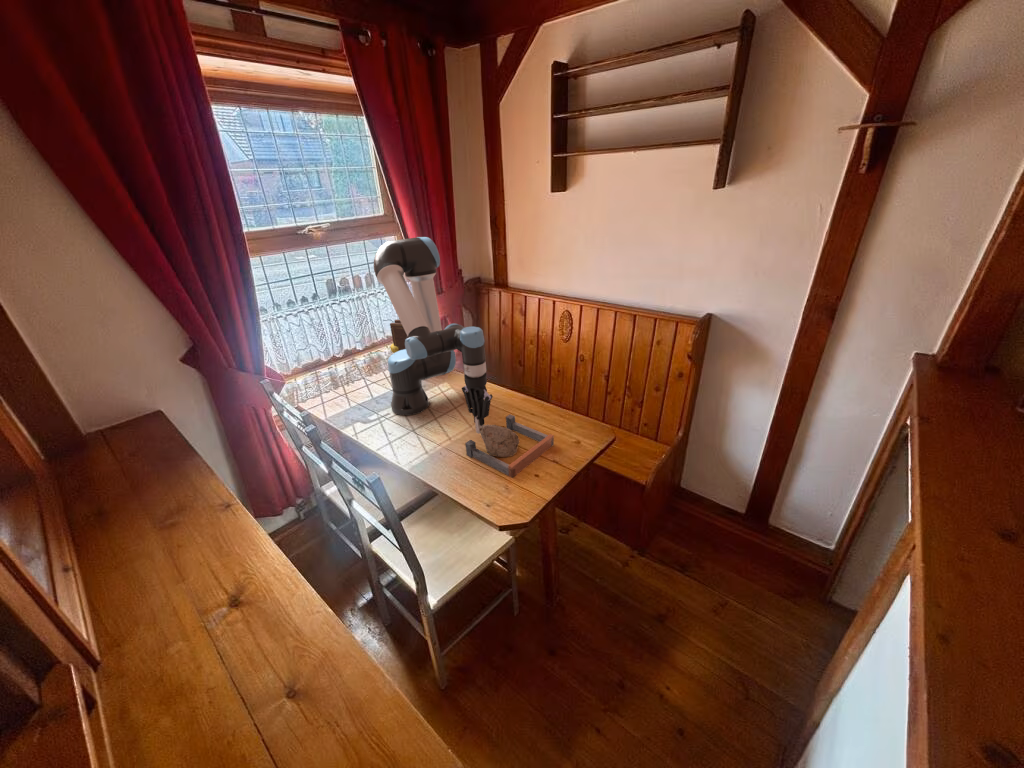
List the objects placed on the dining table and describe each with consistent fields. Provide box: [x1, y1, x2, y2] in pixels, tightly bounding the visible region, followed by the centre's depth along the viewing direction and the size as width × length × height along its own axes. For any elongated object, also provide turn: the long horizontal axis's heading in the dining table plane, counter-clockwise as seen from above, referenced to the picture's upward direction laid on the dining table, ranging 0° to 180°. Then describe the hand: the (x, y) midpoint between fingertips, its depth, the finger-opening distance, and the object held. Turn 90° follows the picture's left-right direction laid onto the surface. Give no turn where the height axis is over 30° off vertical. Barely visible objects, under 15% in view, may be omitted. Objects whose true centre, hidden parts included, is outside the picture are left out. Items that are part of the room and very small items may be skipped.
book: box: [389, 319, 408, 354], centre depth 199 cm, size 22×8×25 cm, turn 77°
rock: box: [479, 424, 520, 458], centre depth 143 cm, size 14×10×8 cm
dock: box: [465, 414, 555, 479], centre depth 144 cm, size 20×23×5 cm
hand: (480, 431), depth 153 cm, fingers closed
